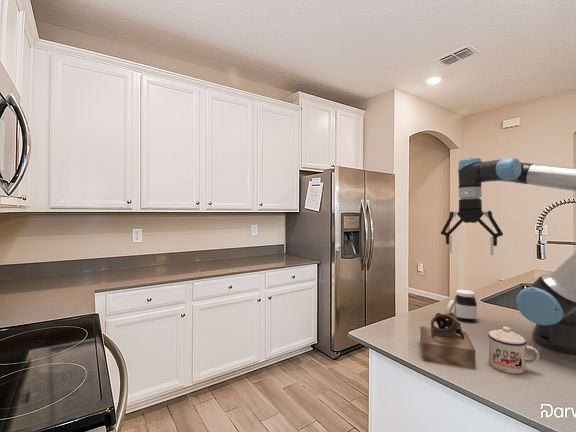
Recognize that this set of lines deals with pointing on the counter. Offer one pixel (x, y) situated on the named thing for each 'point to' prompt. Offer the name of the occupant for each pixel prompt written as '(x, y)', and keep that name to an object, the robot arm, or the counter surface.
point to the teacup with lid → (508, 351)
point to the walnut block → (447, 349)
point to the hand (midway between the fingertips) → (470, 253)
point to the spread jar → (464, 306)
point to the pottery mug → (442, 331)
